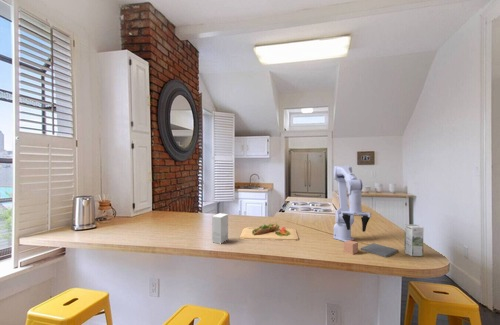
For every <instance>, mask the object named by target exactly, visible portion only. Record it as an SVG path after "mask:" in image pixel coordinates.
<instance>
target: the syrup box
mask: <svg viewBox="0 0 500 325" xmlns="http://www.w3.org/2000/svg"><path fill="white" fill-rule="evenodd" d="M404 253H405V254H406V255H409V256H410V257H424V227H423V226H421V225H420V224H404Z"/></svg>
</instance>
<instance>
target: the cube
mask: <svg viewBox="0 0 500 325" xmlns="http://www.w3.org/2000/svg"><path fill="white" fill-rule="evenodd" d="M343 252H345V253H346V254H350V255H354V254H357V253H359V242H357V241H354V240H351V241H350V240H348V241H343Z"/></svg>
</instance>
